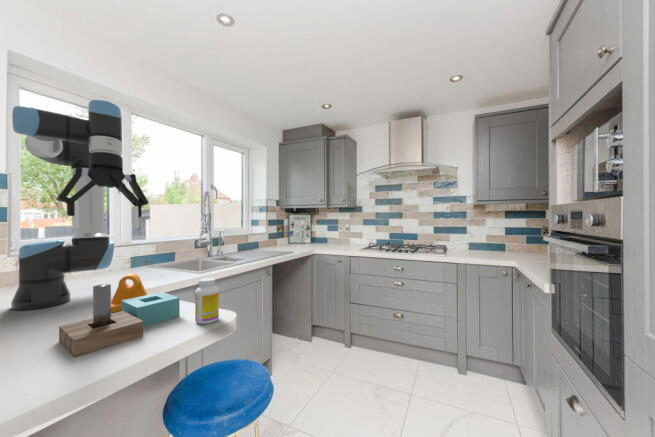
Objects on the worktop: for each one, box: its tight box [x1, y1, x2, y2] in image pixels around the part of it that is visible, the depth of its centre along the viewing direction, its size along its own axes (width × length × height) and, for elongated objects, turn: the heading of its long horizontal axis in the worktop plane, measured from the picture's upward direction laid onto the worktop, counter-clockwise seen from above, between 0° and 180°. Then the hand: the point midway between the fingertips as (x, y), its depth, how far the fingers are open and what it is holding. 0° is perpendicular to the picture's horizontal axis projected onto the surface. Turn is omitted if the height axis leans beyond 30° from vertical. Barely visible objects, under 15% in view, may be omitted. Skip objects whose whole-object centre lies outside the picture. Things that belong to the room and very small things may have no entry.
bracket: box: [111, 273, 148, 314], centre depth 94 cm, size 11×7×12 cm
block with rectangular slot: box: [121, 291, 181, 328], centre depth 87 cm, size 12×12×6 cm
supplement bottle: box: [194, 277, 220, 325], centre depth 84 cm, size 7×7×13 cm
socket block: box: [58, 311, 144, 358], centre depth 72 cm, size 14×14×4 cm
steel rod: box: [92, 283, 112, 329], centre depth 72 cm, size 4×4×14 cm
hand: (107, 228), depth 77 cm, fingers open, 13 cm apart
